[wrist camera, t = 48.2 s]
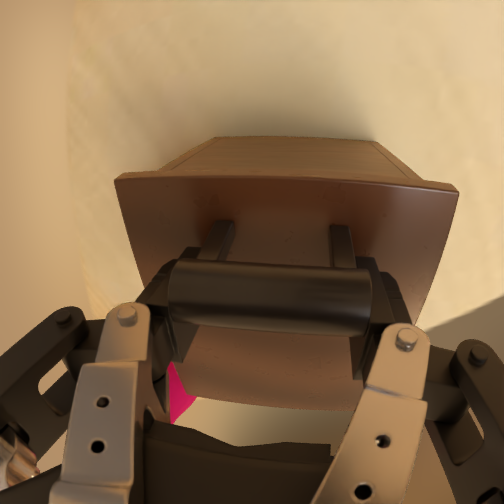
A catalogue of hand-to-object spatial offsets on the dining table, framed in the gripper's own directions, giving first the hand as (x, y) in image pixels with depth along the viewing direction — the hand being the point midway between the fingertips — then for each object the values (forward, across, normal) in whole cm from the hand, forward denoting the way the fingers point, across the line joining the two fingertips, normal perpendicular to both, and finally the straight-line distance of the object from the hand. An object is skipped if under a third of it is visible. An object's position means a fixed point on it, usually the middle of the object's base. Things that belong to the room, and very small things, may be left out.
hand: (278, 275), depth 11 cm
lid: (+2, 0, +4) cm, 5 cm away
